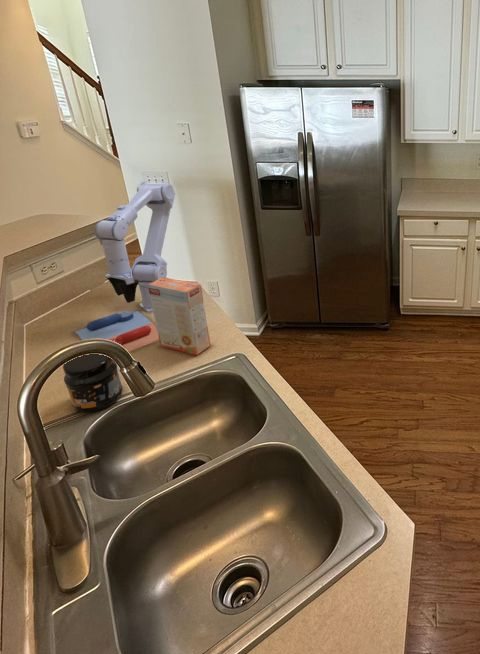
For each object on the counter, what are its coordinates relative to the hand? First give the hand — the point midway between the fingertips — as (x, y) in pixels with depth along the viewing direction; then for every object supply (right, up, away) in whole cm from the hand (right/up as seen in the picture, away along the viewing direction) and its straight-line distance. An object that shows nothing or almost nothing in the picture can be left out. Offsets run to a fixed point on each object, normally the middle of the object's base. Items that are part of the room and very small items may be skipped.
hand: (126, 298), depth 137 cm
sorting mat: (0, -11, -3) cm, 12 cm away
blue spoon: (-6, -9, +2) cm, 11 cm away
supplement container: (+13, -22, -30) cm, 39 cm away
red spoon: (+5, -12, -6) cm, 15 cm away
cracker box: (+23, -14, -8) cm, 28 cm away
